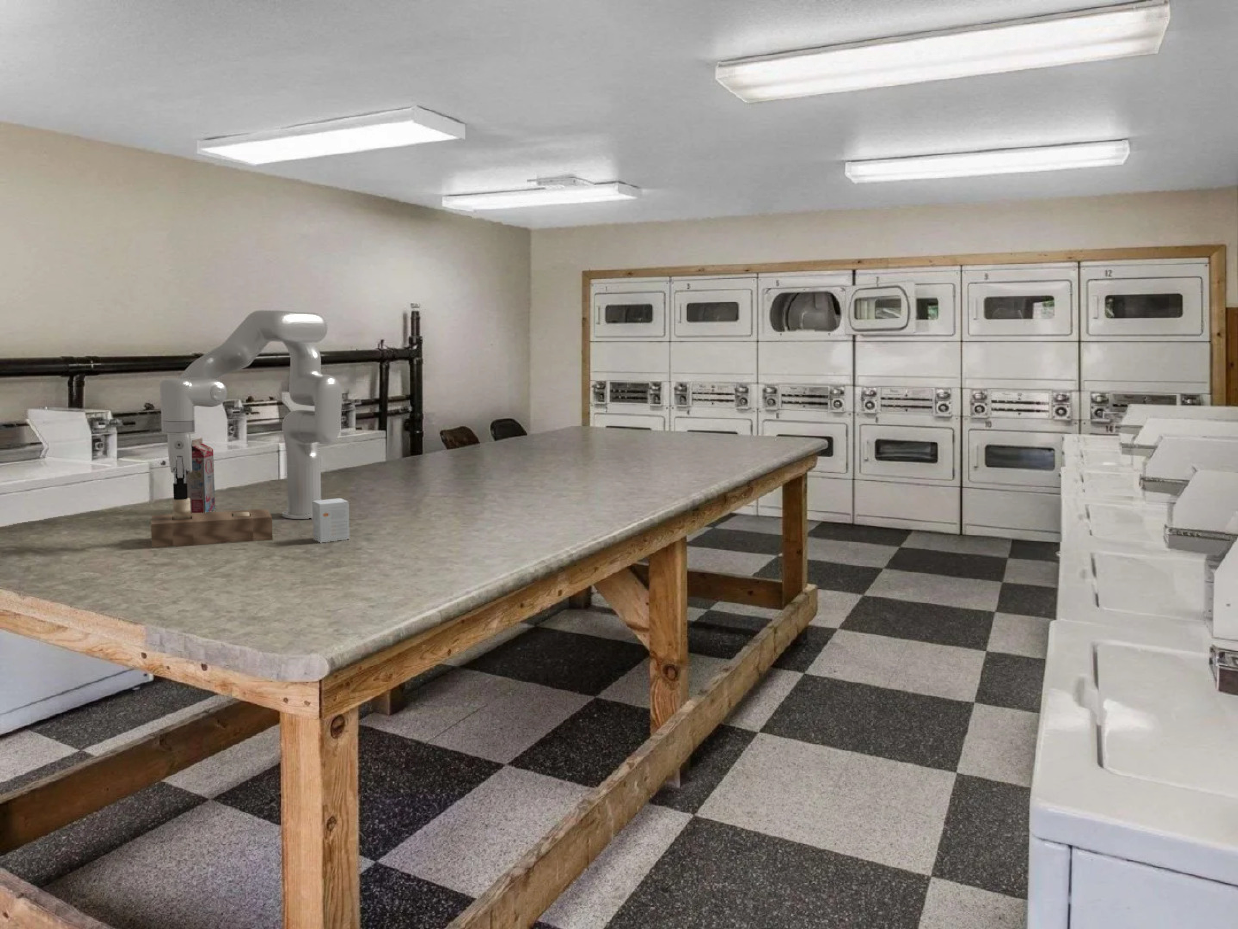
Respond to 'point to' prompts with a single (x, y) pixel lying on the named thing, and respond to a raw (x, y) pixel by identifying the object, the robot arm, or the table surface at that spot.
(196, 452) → the juice carton
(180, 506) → the peg
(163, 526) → the press block
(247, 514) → the peg
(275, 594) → the table surface
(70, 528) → the table surface
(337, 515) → the small box
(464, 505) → the table surface
